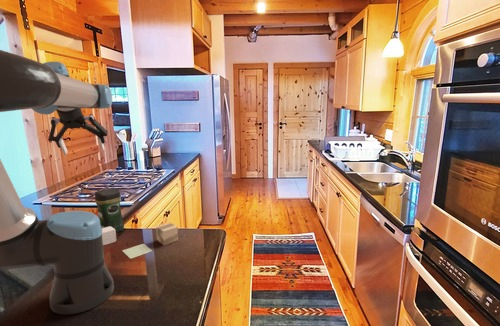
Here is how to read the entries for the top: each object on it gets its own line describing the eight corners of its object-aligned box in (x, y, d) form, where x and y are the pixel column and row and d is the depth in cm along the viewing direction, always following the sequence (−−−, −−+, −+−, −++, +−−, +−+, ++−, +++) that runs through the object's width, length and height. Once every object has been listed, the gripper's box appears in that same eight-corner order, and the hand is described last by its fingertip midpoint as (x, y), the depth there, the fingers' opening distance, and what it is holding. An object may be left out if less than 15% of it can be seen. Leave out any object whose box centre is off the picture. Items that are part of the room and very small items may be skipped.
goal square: (152, 251, 101) (152, 250, 101) (130, 258, 96) (130, 258, 96) (143, 243, 107) (143, 243, 107) (122, 250, 102) (122, 250, 102)
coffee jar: (117, 225, 125) (114, 185, 122) (126, 230, 120) (123, 188, 117) (95, 232, 117) (90, 190, 114) (104, 237, 112) (99, 193, 109)
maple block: (178, 241, 110) (177, 226, 109) (164, 246, 106) (163, 231, 105) (170, 236, 114) (170, 222, 113) (156, 240, 110) (156, 226, 109)
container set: (111, 238, 112) (110, 225, 111) (116, 242, 109) (115, 229, 108) (52, 256, 98) (50, 242, 97) (56, 262, 94) (54, 247, 93)
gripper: (105, 98, 106) (117, 142, 120) (29, 103, 99) (51, 148, 113) (104, 109, 101) (117, 153, 115) (23, 114, 94) (48, 160, 108)
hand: (84, 151), depth 114 cm, fingers open, 13 cm apart
